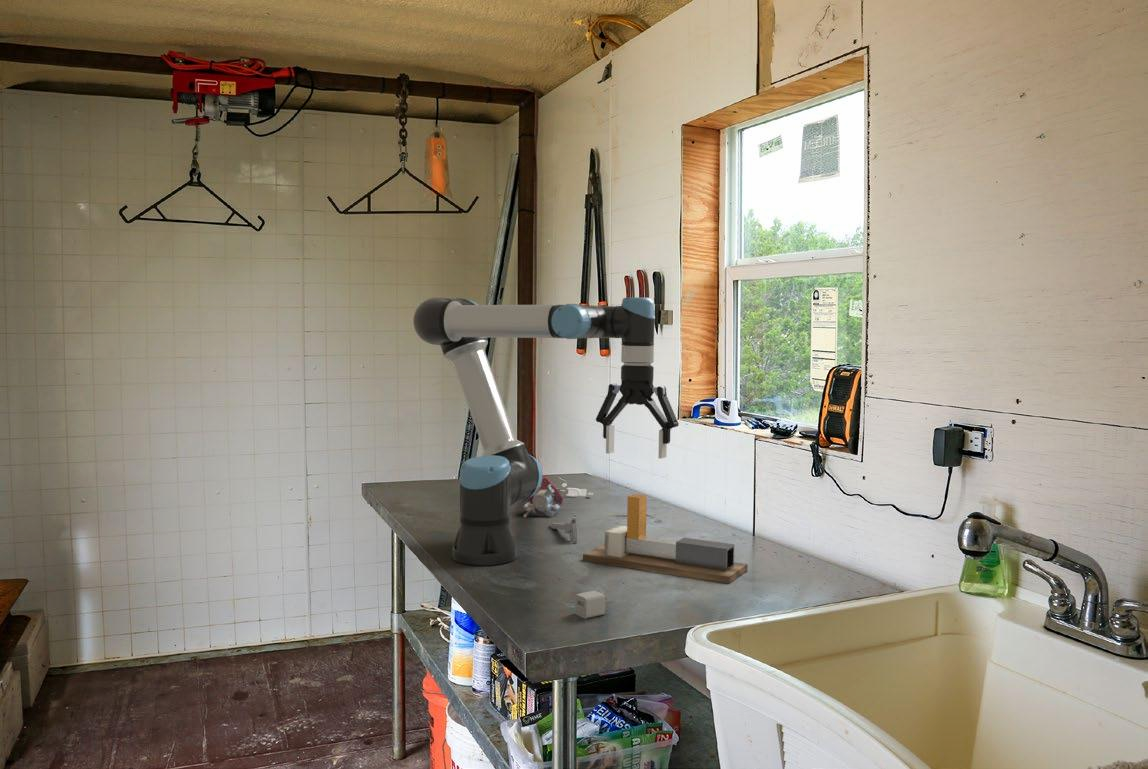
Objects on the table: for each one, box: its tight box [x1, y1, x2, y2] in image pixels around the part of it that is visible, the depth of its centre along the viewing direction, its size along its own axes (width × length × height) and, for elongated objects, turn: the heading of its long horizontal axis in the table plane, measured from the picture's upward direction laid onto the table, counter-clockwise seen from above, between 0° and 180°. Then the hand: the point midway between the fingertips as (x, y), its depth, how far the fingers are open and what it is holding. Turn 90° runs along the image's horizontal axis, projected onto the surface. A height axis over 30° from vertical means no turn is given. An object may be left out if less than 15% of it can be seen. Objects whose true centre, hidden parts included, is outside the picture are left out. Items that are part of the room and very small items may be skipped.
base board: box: [582, 543, 749, 584], centre depth 206 cm, size 12×36×2 cm, turn 60°
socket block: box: [604, 525, 629, 557], centre depth 212 cm, size 8×4×6 cm, turn 150°
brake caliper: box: [522, 476, 564, 518], centre depth 260 cm, size 11×11×12 cm
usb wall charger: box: [573, 590, 614, 619], centre depth 172 cm, size 4×7×4 cm, turn 125°
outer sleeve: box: [676, 537, 735, 571], centre depth 201 cm, size 5×12×5 cm, turn 60°
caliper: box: [549, 518, 578, 544], centre depth 236 cm, size 20×1×6 cm, turn 19°
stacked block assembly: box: [625, 493, 678, 559], centre depth 206 cm, size 4×22×13 cm, turn 60°
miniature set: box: [554, 482, 594, 498], centre depth 293 cm, size 6×35×12 cm
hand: (635, 455), depth 209 cm, fingers open, 13 cm apart
